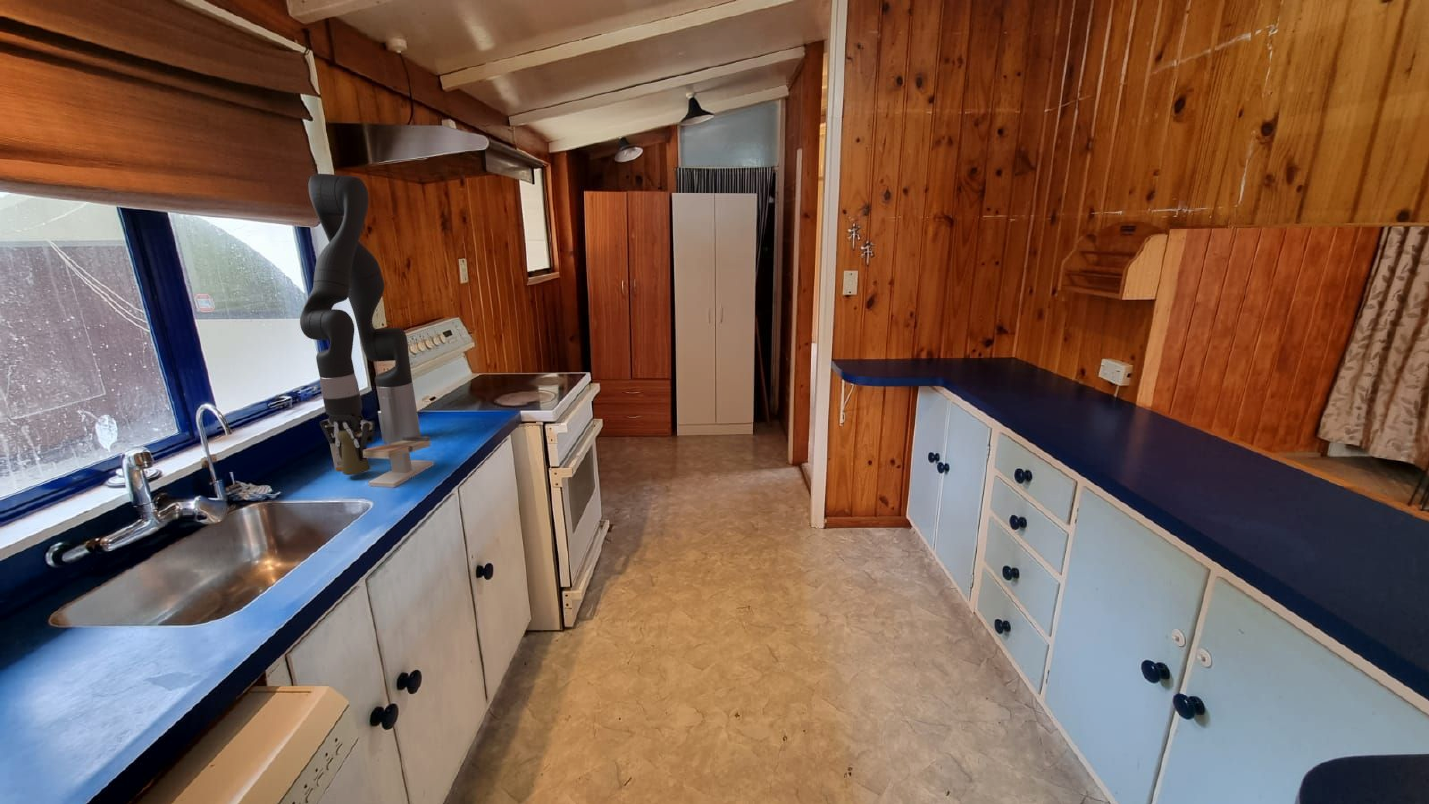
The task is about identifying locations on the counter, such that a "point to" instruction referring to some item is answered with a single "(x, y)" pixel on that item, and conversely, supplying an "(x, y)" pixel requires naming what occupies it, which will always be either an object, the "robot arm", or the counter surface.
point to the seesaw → (397, 447)
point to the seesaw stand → (400, 471)
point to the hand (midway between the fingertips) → (354, 459)
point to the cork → (351, 455)
